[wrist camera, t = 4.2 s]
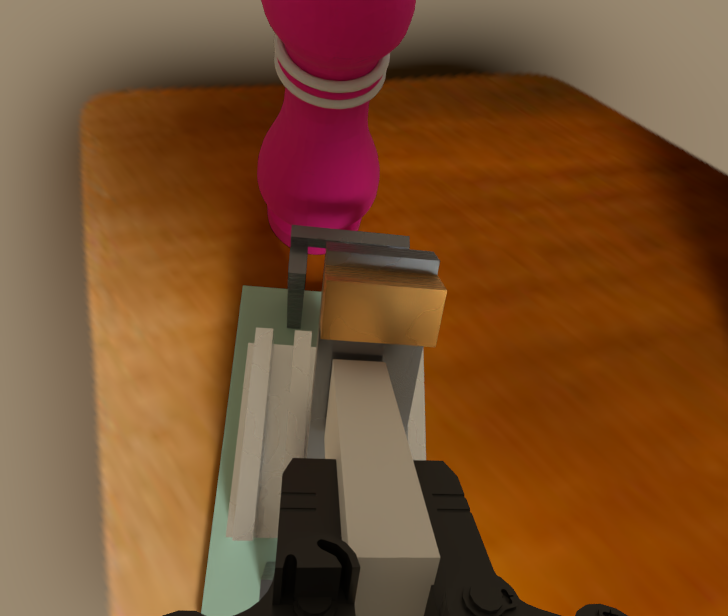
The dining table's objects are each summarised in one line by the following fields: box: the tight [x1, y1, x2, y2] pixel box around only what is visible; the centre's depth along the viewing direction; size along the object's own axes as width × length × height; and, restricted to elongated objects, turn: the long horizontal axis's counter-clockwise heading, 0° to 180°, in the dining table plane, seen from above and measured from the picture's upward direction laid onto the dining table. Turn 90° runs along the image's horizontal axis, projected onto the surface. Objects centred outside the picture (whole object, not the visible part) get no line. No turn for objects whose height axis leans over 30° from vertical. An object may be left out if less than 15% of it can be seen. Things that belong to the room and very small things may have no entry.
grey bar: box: [305, 242, 447, 459], centre depth 16 cm, size 15×3×2 cm
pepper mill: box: [257, 0, 416, 255], centre depth 24 cm, size 7×7×20 cm
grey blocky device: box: [226, 225, 426, 601], centre depth 23 cm, size 16×9×8 cm, turn 178°
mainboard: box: [201, 285, 426, 616], centre depth 27 cm, size 18×11×1 cm, turn 178°
